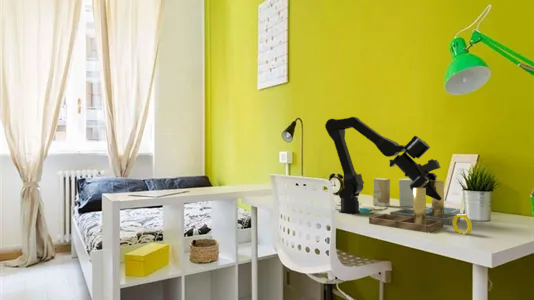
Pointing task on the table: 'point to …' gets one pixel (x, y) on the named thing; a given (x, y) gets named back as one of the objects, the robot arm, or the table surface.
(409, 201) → the skincare box
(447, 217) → the tray
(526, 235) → the table surface
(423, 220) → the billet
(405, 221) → the tray
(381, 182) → the skincare box
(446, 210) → the tray
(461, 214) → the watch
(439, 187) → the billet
